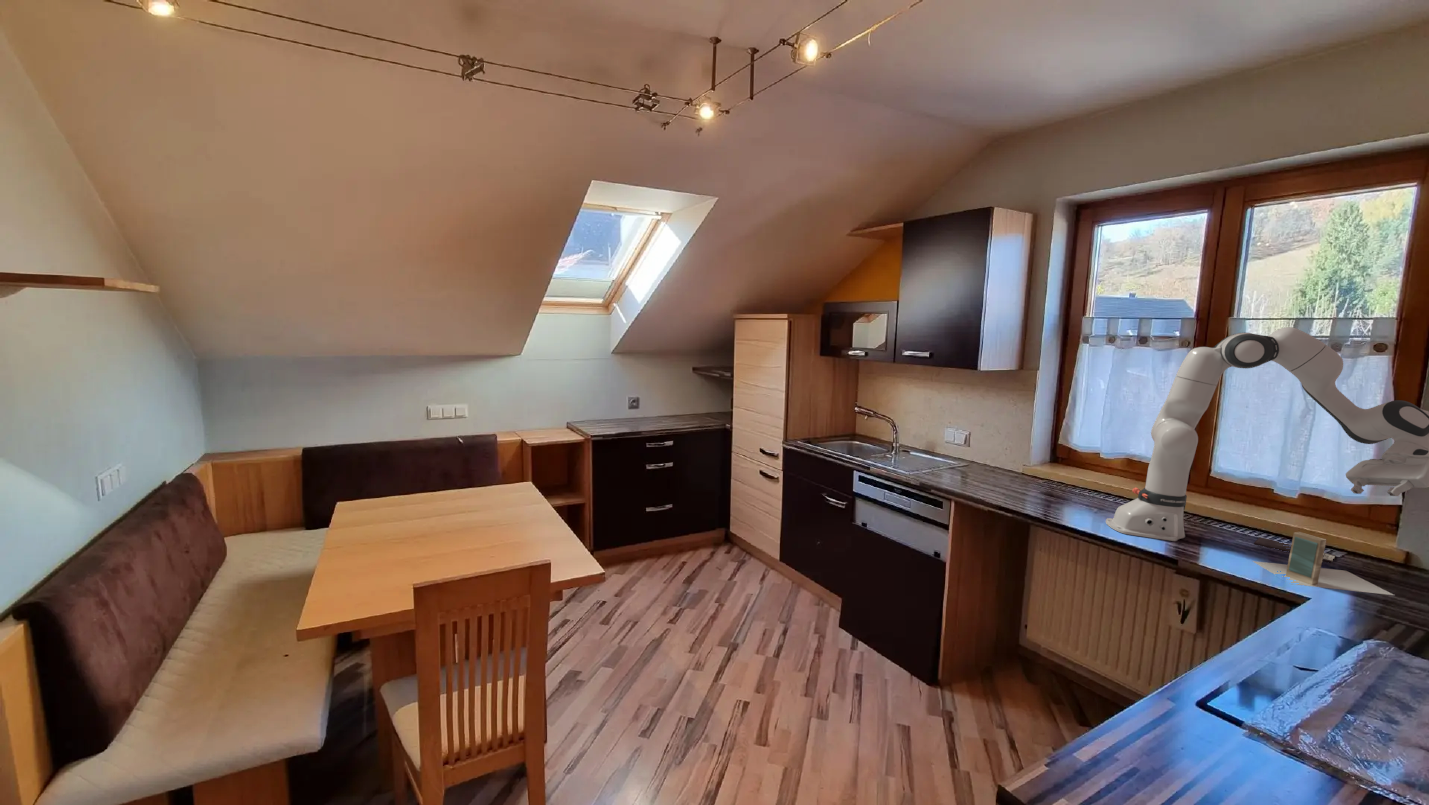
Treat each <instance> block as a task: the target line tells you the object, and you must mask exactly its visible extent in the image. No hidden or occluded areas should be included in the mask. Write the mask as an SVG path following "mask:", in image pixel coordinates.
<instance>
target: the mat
mask: <svg viewBox="0 0 1429 805" xmlns="http://www.w3.org/2000/svg"><path fill="white" fill-rule="evenodd" d="M1252 562H1253V563H1254V564H1256V565H1257V566H1260V567H1261V568H1263V569H1264V570H1266V571H1268V572H1270V573H1271V574H1274V575H1275V574H1286V571H1287V566H1288V564H1286V563H1285V564H1284V563H1275V562H1267V561H1266V562H1264V561H1255V560H1252ZM1277 571H1278V572H1277ZM1280 571H1281V572H1280ZM1282 577H1283V576H1282ZM1284 577H1287V576H1286V575H1285V576H1284ZM1287 580H1288V579H1287ZM1289 580H1293V582H1291V583H1299V584H1296V586H1303V585H1304V586H1305V587H1312V588H1313V587H1315V588H1323V589H1333V590H1341V591H1342V590H1343V591H1351V592H1358V593H1359V592H1360V593H1361V592H1363V593H1370V594H1378V595H1387V596H1388V595H1389V596H1394V594H1393V593H1392V592H1389V591H1387V590H1386V589H1383V588H1381V587H1380V586H1377V585H1376V584H1373V583H1371V582H1369V581H1368V580H1366V579H1363V578H1362V577H1359V576H1358V575H1355V574H1353V573H1352V572H1349V571H1347V570H1341V569H1333V568H1325V567H1324V568H1323V567H1321V569H1320V574H1319V579H1318V584H1316V585H1310V584H1307V583H1304V582H1301V581H1298V580H1296V581H1294V580H1295V579H1293V578H1290V579H1289Z"/></svg>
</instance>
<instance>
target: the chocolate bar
mask: <svg viewBox="0 0 1429 805" xmlns="http://www.w3.org/2000/svg"><path fill="white" fill-rule="evenodd" d="M1279 542H1280V541H1277V540H1274V539H1269V538H1264V537H1261V536H1260V537H1259V538H1257V540H1254V542H1253V545H1256V546H1259V545H1260V547H1263V546H1264V548H1268V549H1271V548H1275V549H1279V550H1282V551H1281V552H1283V551H1289V552H1290V550H1291V549H1286V548H1291V547H1289V546H1283V545H1292V543H1291V544H1290V543H1287V544H1284V543H1285V542H1282V543H1279ZM1275 549H1274V550H1275ZM1279 550H1278V551H1279ZM1335 558H1336V554H1332V553H1328V552H1324V554H1323V559H1322V562H1325V563H1328V562H1329V563H1328V564H1332V562H1333V561H1334V560H1335ZM1333 559H1334V560H1333Z"/></svg>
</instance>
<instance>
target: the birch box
mask: <svg viewBox="0 0 1429 805" xmlns="http://www.w3.org/2000/svg"><path fill="white" fill-rule="evenodd" d="M1326 544H1327V539H1326V538H1322V537H1319V536H1315V535H1311V534H1308V533H1305V532H1302V531H1296V532H1293V535H1292V540H1291V550H1290V553H1289V556H1288V560H1287V565H1288V566H1287V571H1286V576H1287V577H1290V578H1293V579H1295V580H1298V581H1301V582H1304V583H1307V584H1310V585H1316V584H1318V579H1319V574H1320V569H1321V568H1322V565H1323V564H1322V563H1323V561H1322V559H1323V554H1324V553H1325V549H1326Z"/></svg>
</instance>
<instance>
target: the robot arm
mask: <svg viewBox="0 0 1429 805" xmlns="http://www.w3.org/2000/svg"><path fill="white" fill-rule="evenodd" d="M1271 361H1272V362H1274V363H1276V364H1279V366H1281V367H1283V368H1284V369H1286V370H1287V371H1288V372H1289V373H1290V374H1292V375H1293V376H1294V377H1295V378H1296V379H1297V380H1298V381H1299V382H1300V384H1301V387H1302V389H1303V390H1304V391H1305V393H1306V394H1307V395H1308V396H1309V397H1310V398H1311V399H1312V400H1314V401H1315V403H1317V404H1318V406H1320V408H1322V409H1323V410H1324V411H1326V413H1328V414H1329V415H1330V416H1331V417H1332V418H1333V419H1334V420H1335V421H1336V422H1337V424H1339V426H1340V427H1341V428H1342V430H1343V431H1344V432H1345V433H1346V435H1347V436H1348V437H1349V438H1350V439H1351V440H1353V441H1356V442H1358V443H1361V444H1364V445H1373V444H1374V445H1375V444H1378V443H1381V442H1384V441H1386V440H1389V439H1392V440H1394V442H1393V443H1392V444H1391V445H1390V446H1389V447H1388V448H1387V449H1386V450H1385V451H1384V453H1382V455H1381V458H1370V459H1365V460H1361V461H1359V462H1358V463H1356V464H1355V465H1354V466H1353V467H1351V468H1349V470H1348V471H1347V472H1346V473H1345V478H1346V479H1347V480H1348V481H1349V482H1350V483H1351V484H1353V486H1352V487H1351V489H1350V491H1351V492H1352V493H1353V494H1355V495H1357V494H1358V495H1361V494H1362V493H1363V492H1364V491H1365V490H1364V489H1363V487H1366V486H1380V487H1381V486H1383V487H1387V486H1388V487H1390V488H1389V489H1388V490H1387V491H1386V492H1387V494H1388V495H1389V496H1390V497H1391V496H1392V497H1399V496H1400V495H1401V494H1402V493H1404V492H1407V491H1409V490H1411V489H1413V488H1421V489H1422V488H1425V489H1426V488H1429V410H1425V409H1422V408H1420V407H1419V406H1417V405H1415V404H1414V403H1411V402H1410V401H1406V400H1401V399H1400V400H1399V399H1397V400H1391V401H1387V402H1385V403H1381V404H1377V405H1376V406H1372V407H1370V408H1369V407H1368V408H1362V407H1359V406H1357V405H1356V404H1355V403H1354V402H1353V401H1351V400H1350V399H1349V398H1348V397H1347V396H1346V395H1345V394H1343V393H1342V392H1341V391H1340V390H1339V389H1338V386H1337V385H1336V381H1337V379H1338V378H1339V376H1340V375H1341V374H1342V372H1343V370H1344V359H1343V358H1342V356H1341V355H1340V354H1339V353H1338V352H1337V351H1336V350H1334V349H1333V348H1331V347H1330V346H1329V345H1327V344H1326V343H1324V342H1323V341H1322V340H1319V339H1318V338H1316V337H1314V336H1313V335H1311V334H1309V333H1307V332H1305V331H1302V330H1301V329H1298V328H1296V327H1291V326H1287V327H1286V326H1285V327H1282V328H1278V329H1277V330H1275V331H1273V332H1272V333H1270V334H1269V335H1264V334H1258V333H1257V334H1256V333H1253V332H1238V333H1233V334H1231V335H1229V336H1226V337H1225V338H1223V339H1222V340H1221V341H1220V342H1218V343H1216V345H1214V346H1213V347H1208V346H1198V347H1194V348H1192V349H1191V350H1190V351H1189V352H1187V354H1186V356H1185V358H1184V359H1183V361H1182V362H1181V365H1180V366H1179V368H1178V370H1177V372H1176V375H1175V378H1174V380H1173V383H1172V384H1171V387H1170V389H1169V392H1168V394H1167V397H1166V399H1165V401H1164V404H1163V405H1162V407H1161V408H1160V411H1158V412H1159V413H1158V415H1157V416H1156V419H1155V421H1154V423H1153V424H1152V427H1151V431H1150V435H1151V438H1152V440H1153V442H1154V444H1153V450H1152V455H1151V457H1150V461H1149V464H1148V468H1147V474H1146V479H1145V487H1144V488H1142V489H1139V488H1138V487H1134V488H1132V490H1131V492H1132V493H1133V494H1135V495H1138V496H1137V498H1135V499H1133V500H1131V501H1129V502H1126V503H1124V504H1122V505H1119V506H1118V507H1117V509H1116V510H1115V512H1114V514H1113V518H1112V517H1111V518H1109V517H1107V518H1106V519H1105V524H1106V525H1107V526H1108V527H1110V528H1111V529H1113V530H1115V531H1116V532H1119V533H1121V534H1125V535H1130V536H1131V535H1132V536H1137V537H1144V538H1150V539H1157V540H1163V541H1170V542H1171V541H1172V542H1177V541H1178V540H1180V539H1184V538H1186V533H1185V529H1184V511H1185V509H1186V505H1187V498H1188V496H1187V486H1188V482H1189V477H1190V476H1189V475H1190V472H1191V471H1190V470H1191V468H1192V465H1193V461H1194V459H1195V454H1196V450H1197V446H1198V443H1199V436H1198V433H1197V431H1196V428H1197V425H1198V424H1199V422H1200V420H1201V419H1202V416H1203V415H1204V414H1205V412H1206V411H1207V410H1208V408H1209V407H1210V402H1211V401H1212V398H1213V396H1214V393H1215V392H1216V389H1217V387H1218V385H1219V381H1220V378H1221V376H1222V375H1223V373H1224V372H1225V371H1226V370H1227V369H1229V368H1231V367H1233V368H1236V369H1253V368H1257V367H1260V366H1262V365H1263V364H1266V363H1269V362H1271Z"/></svg>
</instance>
